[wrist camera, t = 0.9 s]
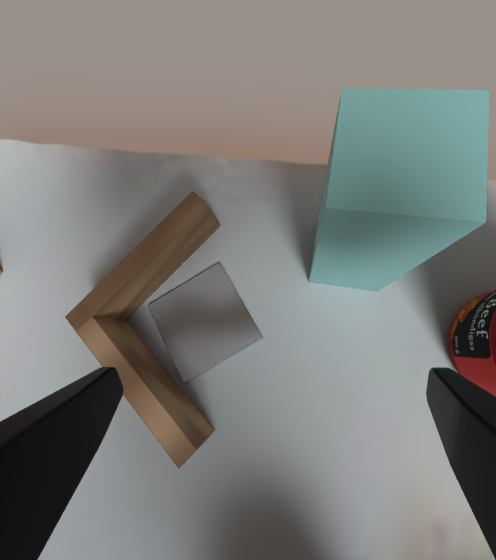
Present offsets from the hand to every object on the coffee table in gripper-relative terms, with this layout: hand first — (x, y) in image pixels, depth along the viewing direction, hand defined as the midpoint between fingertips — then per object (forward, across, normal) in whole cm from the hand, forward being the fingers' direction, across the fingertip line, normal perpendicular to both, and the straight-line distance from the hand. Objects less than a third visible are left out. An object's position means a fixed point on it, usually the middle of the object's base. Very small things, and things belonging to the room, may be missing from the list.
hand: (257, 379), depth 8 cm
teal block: (+16, -5, +2) cm, 16 cm away
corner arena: (+12, +7, +5) cm, 15 cm away
